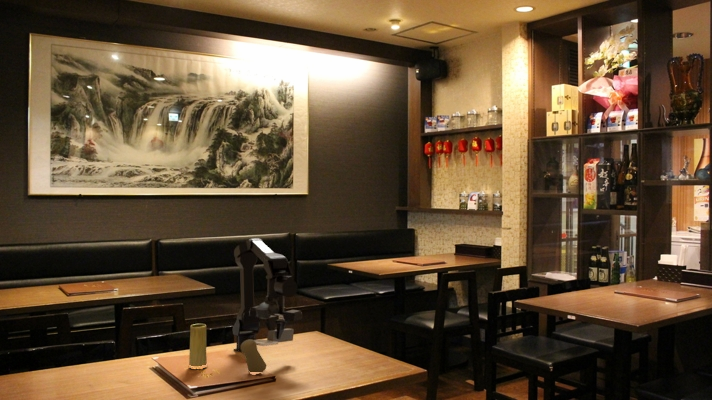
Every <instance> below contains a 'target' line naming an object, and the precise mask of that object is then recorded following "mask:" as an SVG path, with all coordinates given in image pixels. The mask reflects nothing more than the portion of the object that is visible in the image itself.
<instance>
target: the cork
mask: <svg viewBox="0 0 712 400" xmlns="http://www.w3.org/2000/svg"><path fill="white" fill-rule="evenodd" d="M240 348H241V351H242V352H241V353H242V354H244V358H245V362H246V367H247V370H249V371H250V372H262V373H263V372H265V370H266V369H267V363H266V362H265V359H264V358H263V356H262V355H261V354H260V352H259V350H258V345H256V342H255V341H254V340H252V339H249V340H246V341H244V342H243V343H242V344H241V347H240ZM256 348H257V349H256ZM249 371H248V372H249Z"/></svg>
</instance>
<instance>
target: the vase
mask: <svg viewBox="0 0 712 400" xmlns="http://www.w3.org/2000/svg"><path fill="white" fill-rule="evenodd" d="M189 335H190V336H189V356H188V357H189V358H188V361H189V362H188V366H189V365H191V366H202V365H206V364H207V365H208V363H207V362H208V361H207V325H206V324H205V323H195V324H194V323H193V324H191V325H190V334H189Z"/></svg>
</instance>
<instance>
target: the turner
mask: <svg viewBox="0 0 712 400" xmlns="http://www.w3.org/2000/svg"><path fill="white" fill-rule="evenodd" d="M294 331H295V330H294V328H289V327H288V328H285V329H284V331H283V333H282V335H281V337H280V339H277V329H275V330H268V329H267V339H262V338H260V339H255V340H254V341H255V342H256V345H257V346H260V347H268V346H273V345H275V346H276V345H279V343H286V342H293V341H294Z"/></svg>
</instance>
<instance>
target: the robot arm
mask: <svg viewBox="0 0 712 400" xmlns="http://www.w3.org/2000/svg"><path fill="white" fill-rule="evenodd" d="M233 255H234V258H235V259H234V261H235V263H236V265H237V266H238V268H239V273H240V274H239V275H240V276H239V278H240V308H239V309H238V312H237V314H236V320H235V323H234V325H233V327H232V334H233V335H234V336H236V345H235V346H236V347H235V348H233V351H234V352H235V351H236V352H239V353H242V351H241V348H240V347H241V344H242V343H243V342H244V341H246V340H249V339H252V340H256V335H258V334H260V333H259V332H260V327H261V321H262V322H264V323H265V325H266V328H267V331H268V330H277V339H280V337H281V335H282V333H283V331H284V329H286V326H287V324H288V323H289V322H297V321H300V320H302V319H303V312H302V310H299V309H298V310H297V309H291V310H287V307H285V300H286V299H287V298H292V297H294V296H295V295H296V294H297V293H298V289H299V288H298V287H299V286H298V284H297V282H296V281H294V280H293V270H292V268H291V266H290V264H289V260H288V259H287V257H286V256H284V255H283V254H280V253H276V252H274V251H273V250H272V249H271V248H270V247H268V245H266V244H265V243H264V242H263V239H262V238H249V239H247V240H246V241H244V242H241V243H240V244H238V245H237V246H236V247H235V248H234V249H233ZM258 258H259V260H261V262H262V263H263V265H262V267H263V269H264V271H265V272H266V275H265V278H266V280H267V295H265V296H264V301H263V302H261V303H260V304H259V305H256V306H255V292H254V288H255V287H254V267H255V266H256V263H257V262H258ZM277 317H278V319H277ZM256 349H257V350H258V347H257V348H256Z"/></svg>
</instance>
